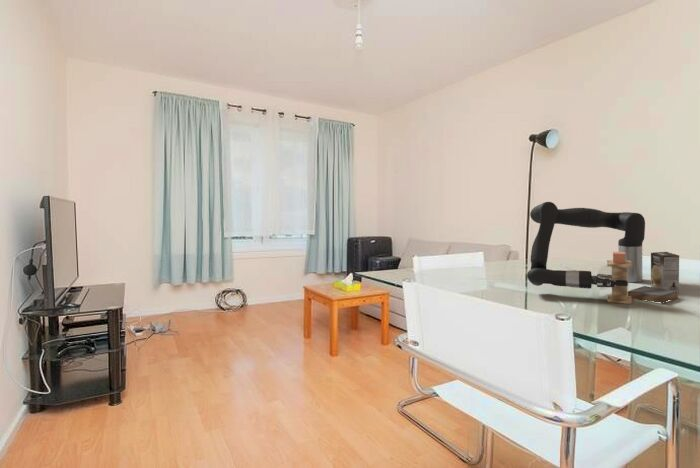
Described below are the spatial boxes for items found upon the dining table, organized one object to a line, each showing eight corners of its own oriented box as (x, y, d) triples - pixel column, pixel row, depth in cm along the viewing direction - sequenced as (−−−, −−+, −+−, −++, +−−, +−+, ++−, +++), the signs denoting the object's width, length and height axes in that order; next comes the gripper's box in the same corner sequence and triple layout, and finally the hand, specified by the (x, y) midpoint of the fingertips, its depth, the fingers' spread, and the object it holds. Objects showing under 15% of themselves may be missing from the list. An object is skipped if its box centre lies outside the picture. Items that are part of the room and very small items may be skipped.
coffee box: (649, 287, 165) (649, 252, 164) (666, 286, 164) (666, 251, 163) (662, 292, 157) (662, 255, 155) (680, 292, 155) (680, 255, 154)
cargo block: (613, 263, 149) (613, 253, 149) (613, 261, 152) (613, 251, 152) (625, 263, 147) (625, 253, 147) (625, 261, 150) (625, 252, 150)
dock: (627, 297, 154) (627, 290, 154) (643, 292, 159) (643, 285, 159) (661, 304, 143) (661, 296, 143) (677, 298, 148) (677, 291, 148)
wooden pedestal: (607, 302, 150) (607, 264, 149) (607, 296, 157) (607, 260, 155) (632, 304, 146) (632, 264, 144) (631, 298, 152) (630, 260, 151)
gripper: (577, 274, 153) (628, 276, 143) (579, 267, 164) (626, 269, 154) (577, 291, 153) (628, 295, 144) (579, 283, 165) (626, 286, 155)
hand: (627, 281), depth 149 cm, fingers closed on wooden pedestal, 5 cm apart
